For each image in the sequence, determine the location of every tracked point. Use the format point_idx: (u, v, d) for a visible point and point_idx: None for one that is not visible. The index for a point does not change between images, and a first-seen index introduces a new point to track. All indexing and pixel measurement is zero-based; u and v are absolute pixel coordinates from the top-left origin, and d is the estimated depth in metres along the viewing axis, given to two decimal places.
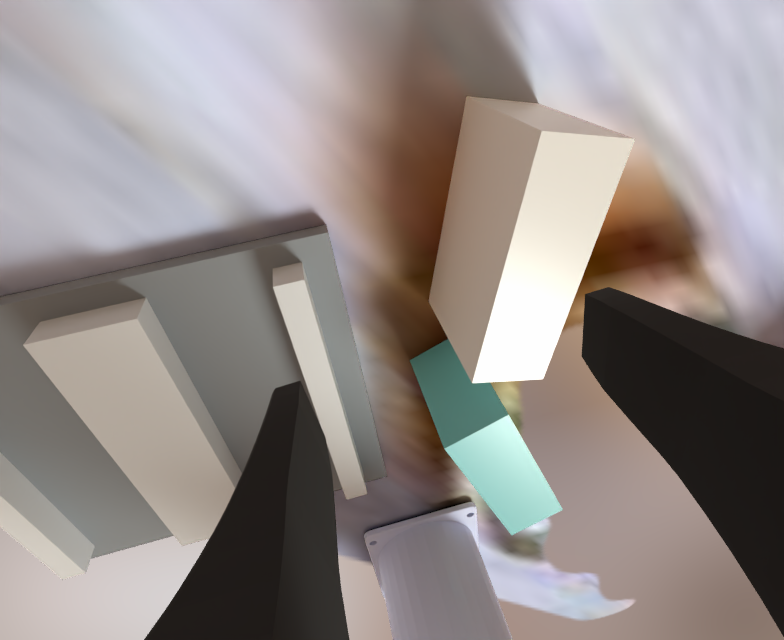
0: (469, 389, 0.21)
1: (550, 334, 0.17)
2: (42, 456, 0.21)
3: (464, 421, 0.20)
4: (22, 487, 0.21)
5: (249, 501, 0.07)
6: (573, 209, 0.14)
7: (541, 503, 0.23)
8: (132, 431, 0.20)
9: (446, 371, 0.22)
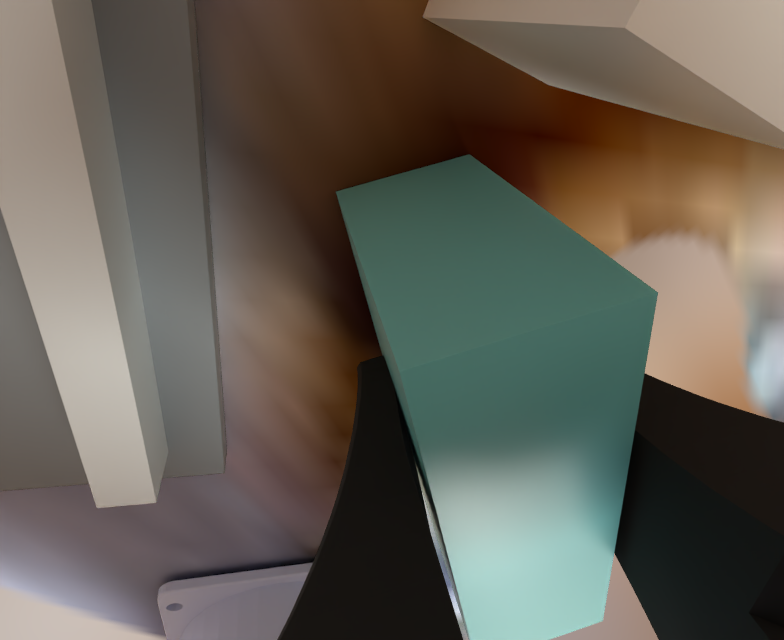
0: (497, 237, 0.07)
1: None
2: None
3: (481, 301, 0.06)
4: None
5: (369, 463, 0.08)
6: None
7: (572, 602, 0.09)
8: None
9: (428, 206, 0.08)
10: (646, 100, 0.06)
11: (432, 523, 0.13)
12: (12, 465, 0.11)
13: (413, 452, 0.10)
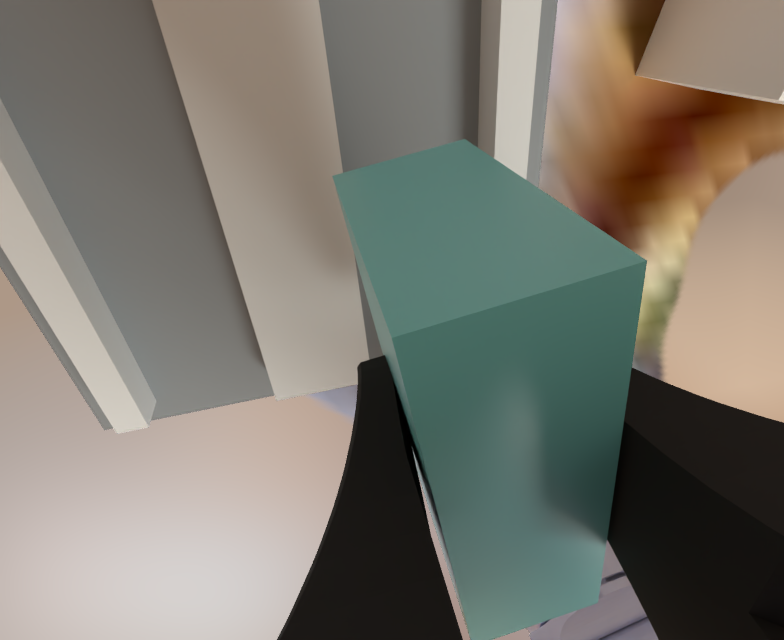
0: (491, 213, 0.07)
1: None
2: (116, 235, 0.15)
3: (473, 272, 0.06)
4: (85, 278, 0.15)
5: (369, 463, 0.08)
6: None
7: (567, 583, 0.09)
8: (259, 184, 0.14)
9: (423, 188, 0.08)
10: (771, 101, 0.15)
11: (429, 509, 0.13)
12: None
13: (409, 435, 0.10)
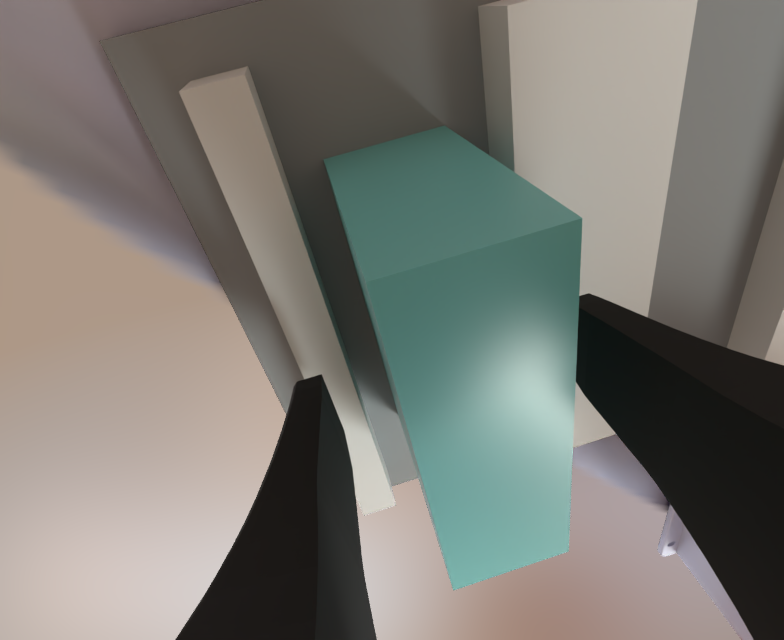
0: (459, 186, 0.08)
1: None
2: None
3: (439, 232, 0.07)
4: (348, 360, 0.14)
5: (280, 491, 0.07)
6: None
7: (538, 528, 0.10)
8: None
9: (404, 167, 0.09)
10: None
11: None
12: None
13: (394, 396, 0.11)
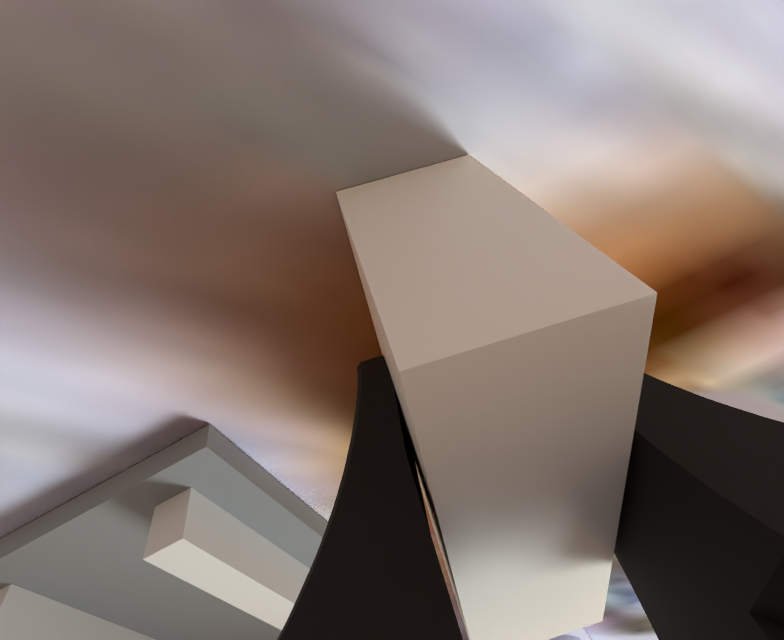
0: None
1: (591, 583, 0.09)
2: None
3: None
4: None
5: (368, 463, 0.08)
6: (553, 446, 0.06)
7: None
8: None
9: None
10: None
11: None
12: None
13: None
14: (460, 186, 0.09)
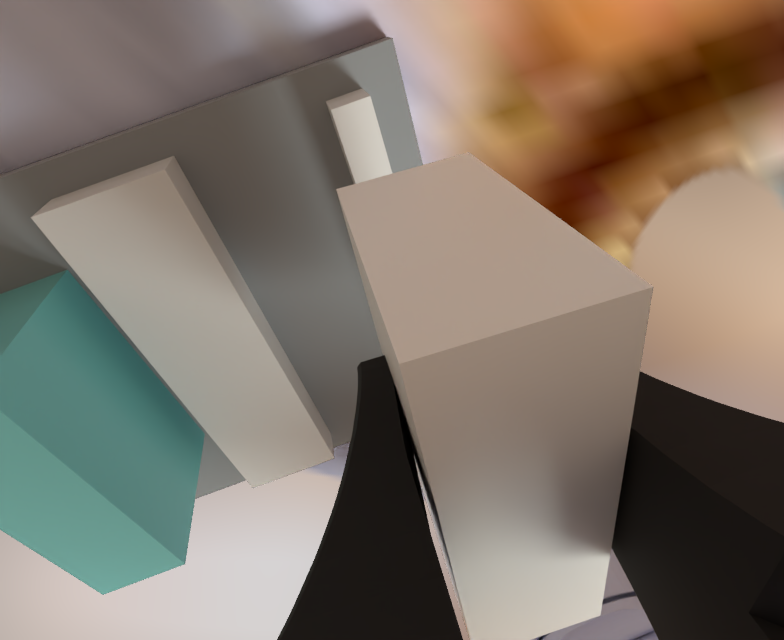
0: None
1: (589, 577, 0.09)
2: None
3: None
4: None
5: (369, 462, 0.08)
6: (551, 439, 0.06)
7: (137, 551, 0.15)
8: (179, 337, 0.16)
9: None
10: None
11: None
12: None
13: None
14: (459, 183, 0.09)
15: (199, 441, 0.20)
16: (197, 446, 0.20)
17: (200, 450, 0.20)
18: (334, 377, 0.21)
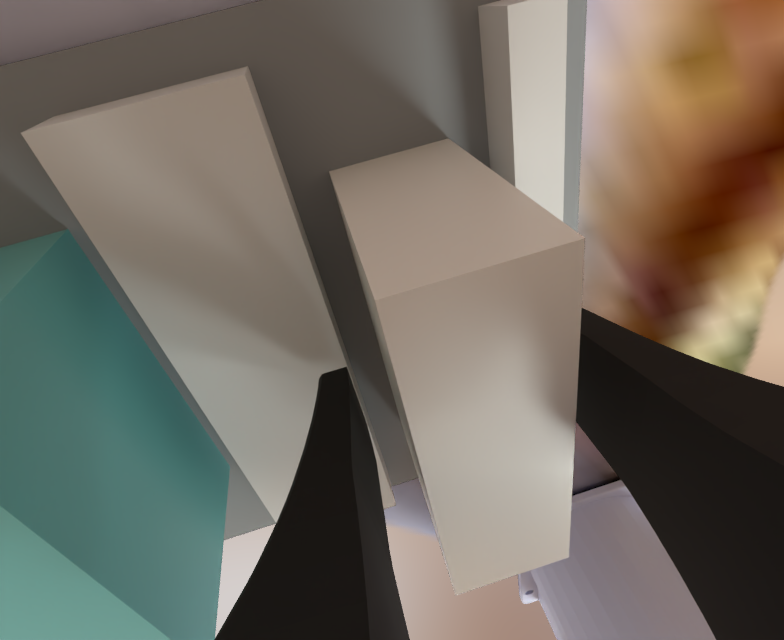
0: None
1: (555, 516, 0.10)
2: None
3: None
4: None
5: (315, 479, 0.08)
6: (509, 376, 0.07)
7: None
8: (224, 339, 0.11)
9: None
10: None
11: None
12: None
13: None
14: (438, 164, 0.10)
15: (225, 477, 0.15)
16: (222, 485, 0.15)
17: (226, 490, 0.15)
18: None
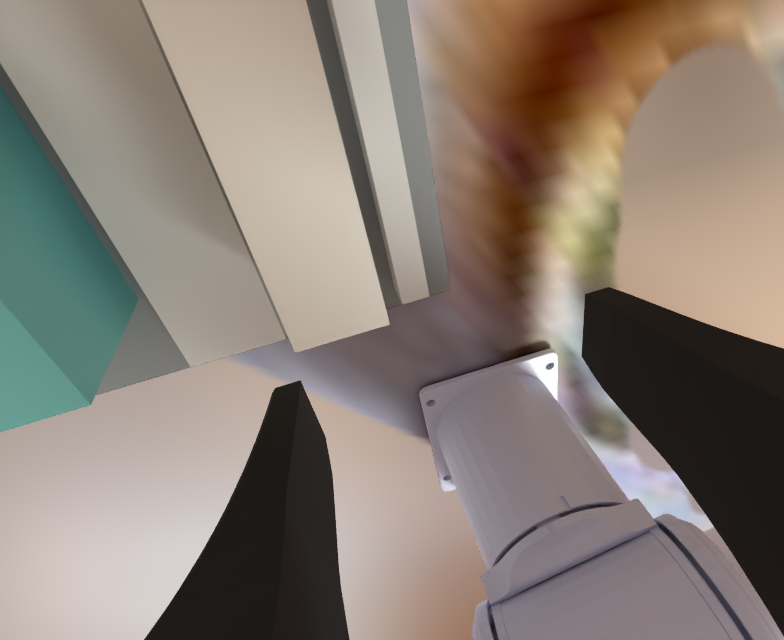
0: None
1: (360, 268, 0.13)
2: None
3: None
4: None
5: (250, 501, 0.07)
6: (272, 94, 0.10)
7: (29, 374, 0.12)
8: (104, 139, 0.14)
9: None
10: None
11: None
12: None
13: None
14: None
15: (131, 301, 0.18)
16: (127, 304, 0.17)
17: (130, 310, 0.17)
18: None
